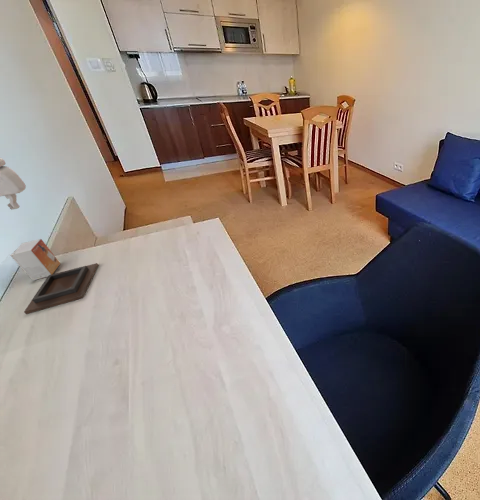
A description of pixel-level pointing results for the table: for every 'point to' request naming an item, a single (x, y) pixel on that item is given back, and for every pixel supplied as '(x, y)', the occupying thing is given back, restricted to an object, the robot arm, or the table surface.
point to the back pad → (62, 288)
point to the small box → (35, 259)
